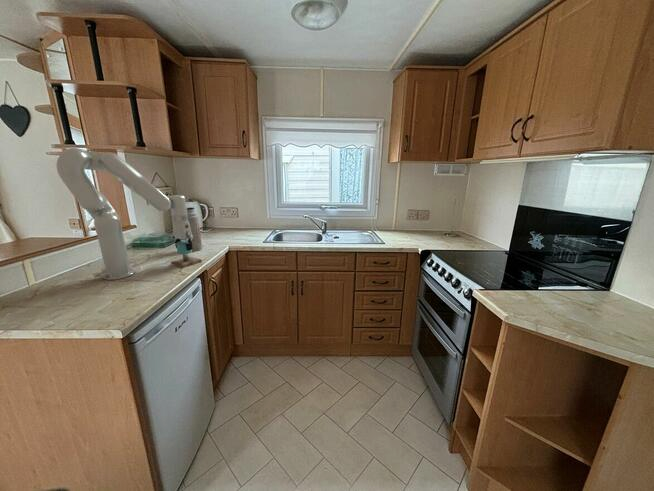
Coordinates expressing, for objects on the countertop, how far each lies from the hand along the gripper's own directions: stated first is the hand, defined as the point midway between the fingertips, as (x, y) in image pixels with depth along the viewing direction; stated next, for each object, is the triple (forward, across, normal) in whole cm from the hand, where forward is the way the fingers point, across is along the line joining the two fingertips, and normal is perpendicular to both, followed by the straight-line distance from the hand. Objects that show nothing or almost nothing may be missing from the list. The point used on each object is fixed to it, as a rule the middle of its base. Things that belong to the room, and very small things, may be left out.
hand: (184, 248), depth 148 cm
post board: (+8, 0, 0) cm, 8 cm away
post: (+7, 0, 0) cm, 7 cm away
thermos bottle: (+9, +20, -20) cm, 30 cm away
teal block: (+2, 0, 0) cm, 2 cm away
